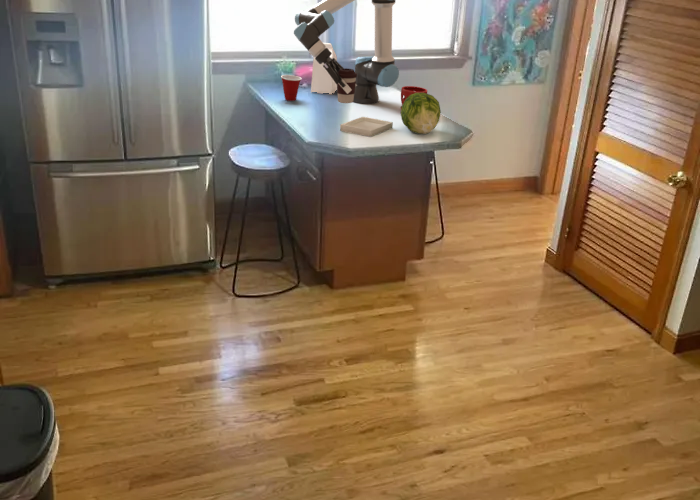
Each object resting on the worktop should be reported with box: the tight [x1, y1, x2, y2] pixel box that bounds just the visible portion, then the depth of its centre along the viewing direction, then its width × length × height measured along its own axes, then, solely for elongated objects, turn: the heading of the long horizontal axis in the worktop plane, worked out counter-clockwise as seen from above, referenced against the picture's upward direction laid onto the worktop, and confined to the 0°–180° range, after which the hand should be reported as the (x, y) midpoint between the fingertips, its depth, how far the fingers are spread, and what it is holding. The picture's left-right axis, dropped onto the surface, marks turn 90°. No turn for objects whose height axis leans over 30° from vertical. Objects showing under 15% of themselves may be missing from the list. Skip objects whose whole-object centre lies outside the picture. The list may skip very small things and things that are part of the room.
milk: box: [310, 42, 338, 95], centre depth 398 cm, size 12×12×26 cm
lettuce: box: [400, 93, 442, 135], centre depth 329 cm, size 18×23×19 cm
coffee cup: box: [336, 67, 357, 104], centre depth 340 cm, size 10×10×15 cm
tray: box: [339, 116, 394, 138], centre depth 331 cm, size 20×16×3 cm
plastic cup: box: [280, 74, 303, 102], centre depth 378 cm, size 11×11×12 cm
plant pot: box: [400, 85, 428, 110], centre depth 366 cm, size 13×13×12 cm
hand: (352, 89), depth 340 cm, fingers closed on coffee cup, 10 cm apart
